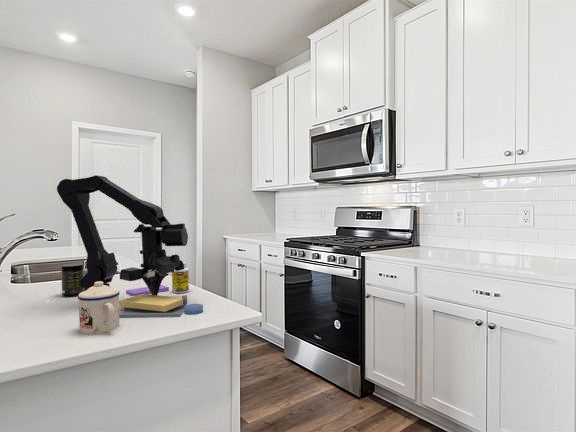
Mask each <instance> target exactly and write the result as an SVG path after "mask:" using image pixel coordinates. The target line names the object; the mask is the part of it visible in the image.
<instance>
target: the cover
mask: <svg viewBox="0 0 576 432" xmlns="http://www.w3.org/2000/svg"><path fill="white" fill-rule="evenodd" d="M180 305H188V295H186V294H185V295H183V294H182V295H181V297H179V296H169V295H159V294H157V295H152V294H140V295H137V296H130V297H128V298H124V299H122V300H119V308H124V307H127V308H136V309H145V310H154V311H163V312H165V311H168V310H170V309H173V308H175V307H178V306H180Z"/></svg>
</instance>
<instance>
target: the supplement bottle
mask: <svg viewBox="0 0 576 432" xmlns="http://www.w3.org/2000/svg"><path fill="white" fill-rule="evenodd" d="M182 262H183V263H184V269H183V270H179V271H176V270H175V269H174V272H172V273H171V283H172V284H171V285H172V287H171V289H172V293H174V294H184V293H185V294H186V293H188V292H189V290H190V284H189V283H190V282H189V280H190V279H189V278H190V276H189V275H190V274H189V272H190V270H189V268H188V267H187V262H186V261H182Z"/></svg>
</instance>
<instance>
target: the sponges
mask: <svg viewBox="0 0 576 432" xmlns="http://www.w3.org/2000/svg"><path fill="white" fill-rule="evenodd" d="M166 292H170V287H169V286H166V285H162V284H161V285H160V288H159V291H158V294H159V293H160V294H161V293H166ZM125 293H126V295H128V296H130V297H134V296H137V295H140V294H149V295H152V294H151V292H150V290H149V288H148V287H147V286H145V287H138V288H133V289H132V288H131V289H126V290H125Z"/></svg>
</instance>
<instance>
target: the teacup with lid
mask: <svg viewBox="0 0 576 432" xmlns="http://www.w3.org/2000/svg"><path fill="white" fill-rule="evenodd" d="M119 295H120V291H119V289H118V288H114V287H111V286H110V287H109V286H106V285H103V282H102V281H98V282H95V283H94V286H93V287H90V288H89V289H88V290H86V291H83V292H81V293H80V294H79V295H78V296H77V299H78V311H79V312H78V313H79V316H78V317H79V333H81V334H85V335H97V334H103V333H108V332H112V331H113V330H116V329H118V328H119V327H120V318H119V313H120V307H119V301H120V300H119V299H120V298H119Z"/></svg>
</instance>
